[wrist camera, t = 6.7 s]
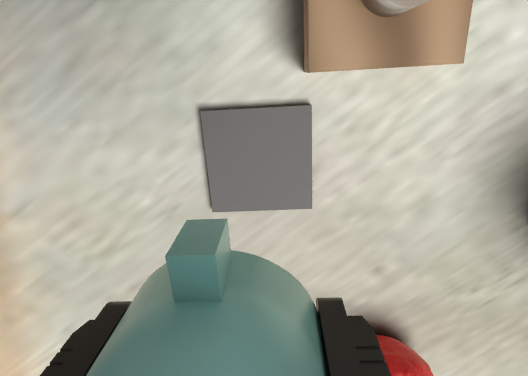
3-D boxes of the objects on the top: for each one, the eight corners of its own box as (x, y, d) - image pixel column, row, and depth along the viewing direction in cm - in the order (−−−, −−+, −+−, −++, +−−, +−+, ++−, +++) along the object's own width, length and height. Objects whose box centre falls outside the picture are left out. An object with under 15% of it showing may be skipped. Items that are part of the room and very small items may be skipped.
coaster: (213, 209, 29) (212, 212, 29) (201, 110, 26) (199, 111, 26) (311, 205, 29) (312, 208, 28) (310, 104, 26) (311, 105, 25)
